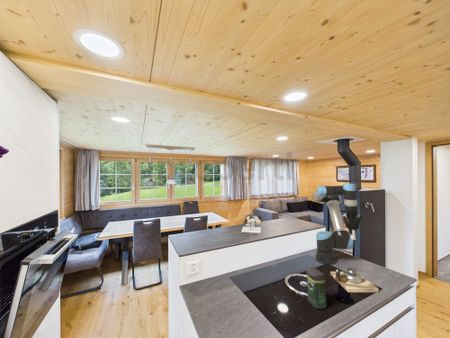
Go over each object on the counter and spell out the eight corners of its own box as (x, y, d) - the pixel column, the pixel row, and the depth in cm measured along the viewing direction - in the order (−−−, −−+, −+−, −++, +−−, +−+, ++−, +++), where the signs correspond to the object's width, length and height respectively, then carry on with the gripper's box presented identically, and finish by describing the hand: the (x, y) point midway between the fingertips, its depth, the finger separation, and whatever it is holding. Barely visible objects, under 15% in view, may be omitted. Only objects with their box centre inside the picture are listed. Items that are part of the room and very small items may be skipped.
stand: (330, 274, 130) (330, 271, 130) (356, 274, 129) (356, 271, 129) (348, 292, 110) (347, 288, 110) (378, 292, 109) (378, 288, 109)
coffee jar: (329, 308, 97) (327, 273, 98) (316, 311, 96) (314, 275, 97) (317, 297, 107) (315, 265, 108) (305, 299, 105) (303, 266, 106)
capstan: (351, 274, 126) (351, 262, 126) (365, 282, 116) (364, 269, 116) (330, 277, 122) (329, 265, 122) (343, 286, 112) (342, 273, 113)
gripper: (356, 204, 131) (359, 237, 130) (338, 204, 132) (340, 237, 131) (364, 205, 123) (366, 240, 122) (344, 206, 124) (346, 241, 123)
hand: (353, 239), depth 126 cm, fingers closed
